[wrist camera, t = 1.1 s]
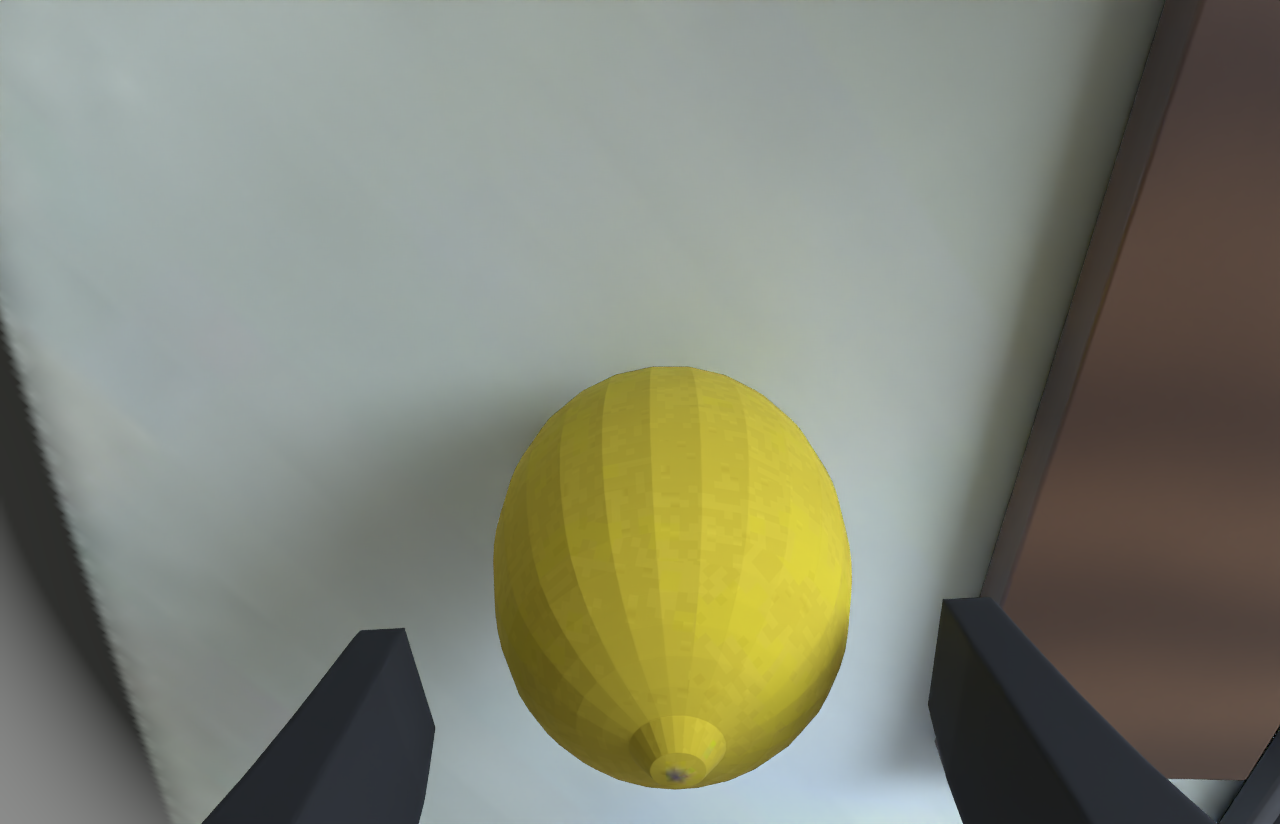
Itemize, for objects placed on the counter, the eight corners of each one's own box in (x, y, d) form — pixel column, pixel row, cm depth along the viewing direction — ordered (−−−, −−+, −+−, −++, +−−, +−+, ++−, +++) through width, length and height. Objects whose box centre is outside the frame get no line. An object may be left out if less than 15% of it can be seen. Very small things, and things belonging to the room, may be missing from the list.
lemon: (470, 371, 17) (350, 714, 10) (731, 240, 15) (801, 533, 8) (613, 564, 19) (595, 942, 12) (848, 466, 18) (974, 832, 11)
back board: (1224, 747, 22) (1246, 782, 21) (933, 741, 22) (944, 775, 21) (1779, -204, 12) (1866, -210, 11) (1231, -221, 12) (1276, -229, 11)
